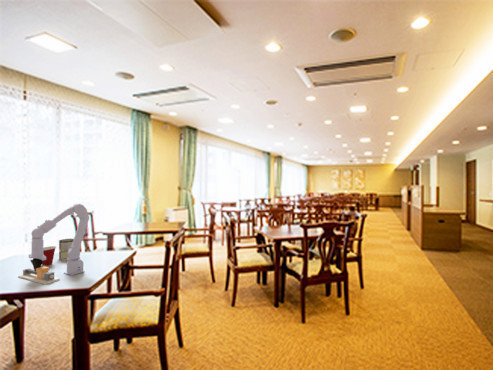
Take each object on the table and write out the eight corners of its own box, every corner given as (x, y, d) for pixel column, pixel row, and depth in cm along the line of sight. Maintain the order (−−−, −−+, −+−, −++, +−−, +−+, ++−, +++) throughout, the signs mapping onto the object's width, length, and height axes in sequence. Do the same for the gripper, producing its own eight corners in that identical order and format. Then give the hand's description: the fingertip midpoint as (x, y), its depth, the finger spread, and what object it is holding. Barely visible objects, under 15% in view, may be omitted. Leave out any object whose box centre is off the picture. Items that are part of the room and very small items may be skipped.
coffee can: (55, 259, 209) (55, 240, 209) (68, 255, 219) (68, 238, 219) (65, 260, 205) (65, 241, 206) (77, 257, 215) (78, 239, 215)
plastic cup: (40, 263, 198) (40, 246, 198) (57, 261, 202) (58, 245, 202) (34, 267, 188) (34, 249, 188) (53, 265, 191) (53, 248, 192)
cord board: (59, 280, 162) (59, 271, 162) (44, 284, 155) (44, 275, 155) (33, 273, 175) (33, 265, 175) (18, 277, 167) (18, 268, 167)
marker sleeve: (49, 276, 164) (49, 267, 164) (40, 279, 160) (40, 269, 160) (44, 275, 166) (44, 266, 166) (36, 277, 162) (36, 268, 162)
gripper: (23, 248, 165) (22, 271, 165) (37, 250, 159) (36, 274, 159) (36, 246, 171) (35, 267, 171) (50, 248, 165) (49, 271, 165)
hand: (37, 270), depth 165 cm, fingers closed
